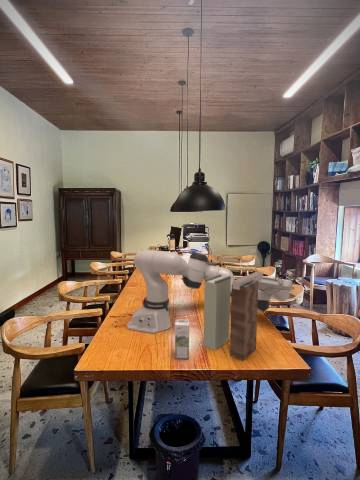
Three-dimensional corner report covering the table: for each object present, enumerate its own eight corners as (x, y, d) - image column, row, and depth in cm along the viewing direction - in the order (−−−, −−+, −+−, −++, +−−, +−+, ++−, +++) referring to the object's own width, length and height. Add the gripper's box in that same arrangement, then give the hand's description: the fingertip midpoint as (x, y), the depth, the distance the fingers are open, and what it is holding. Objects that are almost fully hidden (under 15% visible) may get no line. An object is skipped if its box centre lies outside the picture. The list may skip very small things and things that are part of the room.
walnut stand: (243, 345, 123) (245, 278, 120) (255, 349, 119) (258, 281, 116) (229, 355, 113) (231, 284, 110) (243, 360, 110) (245, 287, 106)
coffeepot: (202, 280, 235) (202, 260, 233) (204, 278, 244) (205, 258, 242) (219, 282, 230) (220, 261, 228) (222, 280, 239) (222, 259, 237)
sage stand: (217, 336, 131) (219, 274, 128) (229, 340, 127) (230, 276, 124) (203, 345, 122) (204, 279, 119) (215, 350, 118) (216, 281, 115)
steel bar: (256, 278, 125) (256, 271, 124) (262, 279, 123) (263, 272, 123) (232, 288, 108) (232, 280, 108) (239, 289, 106) (239, 282, 106)
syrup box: (188, 351, 116) (188, 318, 115) (189, 359, 110) (189, 324, 109) (174, 352, 116) (174, 318, 115) (174, 359, 110) (175, 324, 109)
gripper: (294, 296, 134) (287, 287, 124) (254, 288, 147) (245, 280, 137) (297, 283, 136) (289, 274, 126) (257, 277, 149) (248, 268, 139)
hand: (266, 277), depth 132 cm, fingers open, 8 cm apart
